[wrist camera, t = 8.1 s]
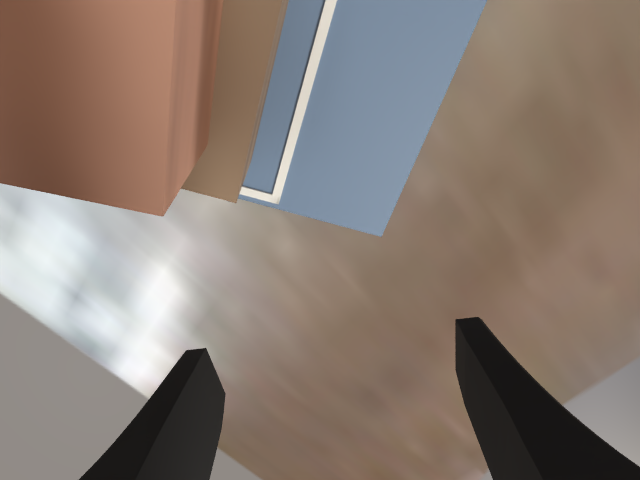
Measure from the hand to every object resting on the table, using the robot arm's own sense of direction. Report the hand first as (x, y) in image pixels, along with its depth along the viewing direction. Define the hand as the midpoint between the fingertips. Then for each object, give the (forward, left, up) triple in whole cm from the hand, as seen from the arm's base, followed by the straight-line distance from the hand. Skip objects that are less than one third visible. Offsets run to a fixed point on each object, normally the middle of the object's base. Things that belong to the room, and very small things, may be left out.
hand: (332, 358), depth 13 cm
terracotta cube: (+8, -5, -6) cm, 11 cm away
